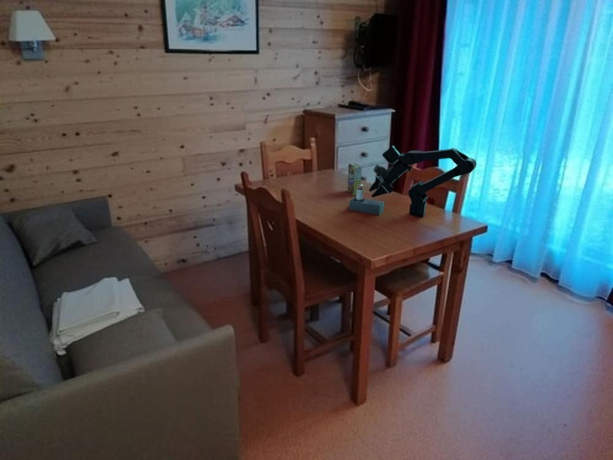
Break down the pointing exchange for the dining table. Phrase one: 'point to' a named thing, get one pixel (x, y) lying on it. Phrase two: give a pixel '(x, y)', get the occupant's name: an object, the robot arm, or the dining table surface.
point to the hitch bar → (367, 206)
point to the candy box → (353, 177)
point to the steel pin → (359, 192)
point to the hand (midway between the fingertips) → (370, 193)
